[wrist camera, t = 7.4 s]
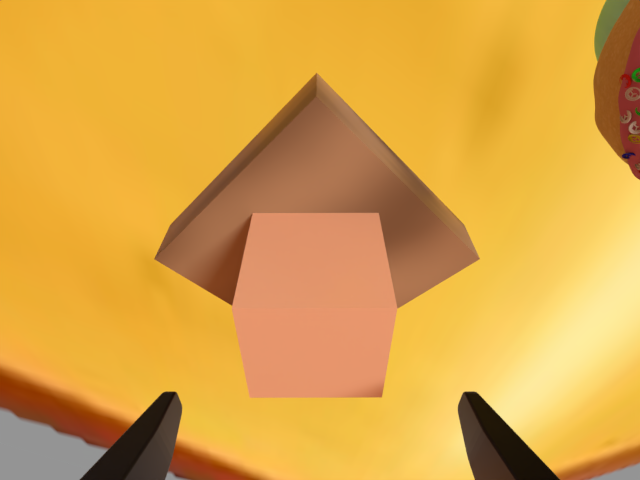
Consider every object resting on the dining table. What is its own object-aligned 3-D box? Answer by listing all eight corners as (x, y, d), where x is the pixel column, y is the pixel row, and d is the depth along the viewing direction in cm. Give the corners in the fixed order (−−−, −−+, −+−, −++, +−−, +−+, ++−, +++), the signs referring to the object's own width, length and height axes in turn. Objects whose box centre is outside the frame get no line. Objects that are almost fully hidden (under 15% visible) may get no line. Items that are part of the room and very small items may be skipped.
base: (170, 224, 20) (154, 259, 18) (316, 72, 15) (316, 96, 13) (317, 320, 24) (317, 357, 22) (464, 224, 20) (480, 258, 18)
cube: (263, 299, 19) (249, 397, 16) (252, 213, 16) (231, 308, 12) (369, 299, 19) (381, 397, 16) (378, 212, 16) (397, 308, 12)
